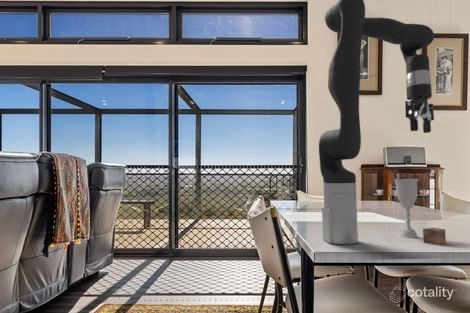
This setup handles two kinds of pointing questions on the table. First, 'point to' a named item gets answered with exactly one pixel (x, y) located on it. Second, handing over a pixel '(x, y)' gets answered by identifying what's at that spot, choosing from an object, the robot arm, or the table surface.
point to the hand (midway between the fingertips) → (420, 131)
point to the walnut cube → (434, 236)
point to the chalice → (407, 202)
